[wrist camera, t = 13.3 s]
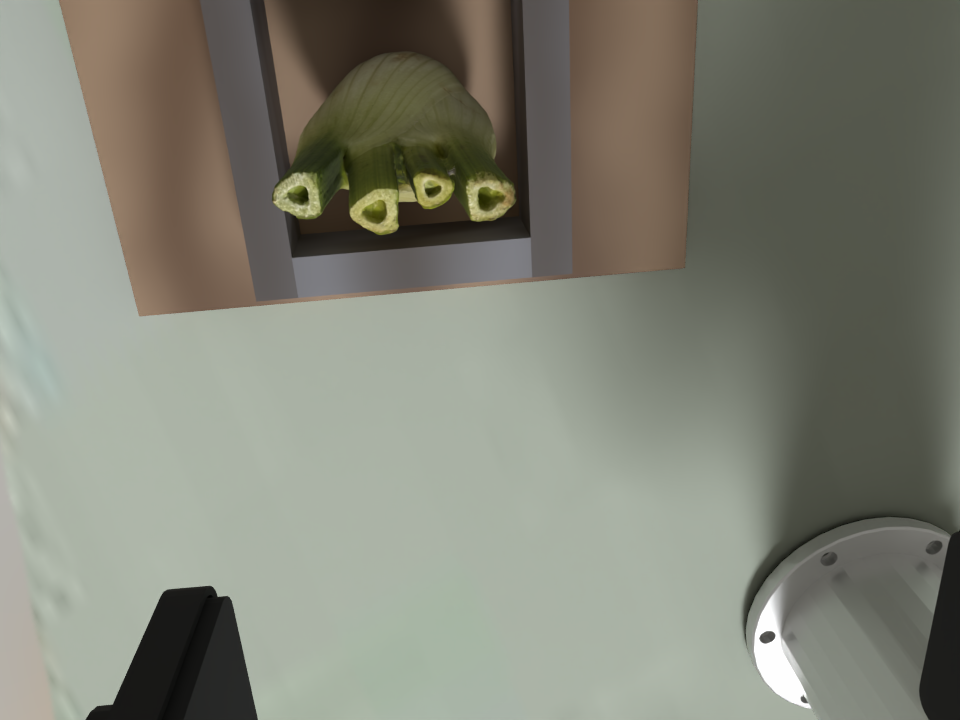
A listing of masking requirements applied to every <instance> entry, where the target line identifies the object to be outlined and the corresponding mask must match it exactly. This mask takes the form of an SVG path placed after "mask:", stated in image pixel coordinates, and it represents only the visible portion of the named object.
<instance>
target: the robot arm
mask: <svg viewBox="0 0 960 720" xmlns="http://www.w3.org/2000/svg"><path fill="white" fill-rule="evenodd" d="M746 641H747V649H748V651H749V654H750V657H751V660H752V662H753V664H754V666H755V668H756V670H757V671H758V673H759V675H760V677H761V678H762V680H763V681H764V682H765V684H766V685H767V686H768V687H769V688H770V689H771V690H772V691H773V692H774V693H776V694H777V695H779V696H780V697H782V698H783V699H785V700H786V701H788V702H791V703H793V704H796V705H798V706H801V707H805V708H810V709H812V710H813V712H814V714H815V715H816V717H817V719H818V720H960V531H959V532H956V533H954V534H953V535H952V536H951V535H949V534H948V533H947V532H946V531H944V530H942V529H940V528H938V527H936V526H934V525H932V524H930V523H927V522H923V521H919V520H915V519H911V518H898V517H883V518H874V519H865V520H861V521H857V522H853V523H850V524H846V525H842V526H840V527H837V528H835V529H833V530H830V531H828V532H826V533H823V534H821V535H819V536H817V537H816V538H814V539H812V540H811V541H809V542H807V543H806V544H804V545H802V546H801V547H799V548H798V549H797V550H795V551H794V552H793V553H792V554H791V555H789V556H788V557H787V558H786V559H785V560H783V561H782V562H781V563H780V564H779V565H778V566H777V567H776V569H775V570H774V571H773V572H772V573H771V574H770V575H769V576H768V577H767V579H766V580H765V582H764V583H763V585H762V587H761V588H760V590H759V591H758V593H757V594H756V596H755V599H754V601H753V604H752V606H751V609H750V611H749V614H748V620H747V626H746ZM86 720H258V718H257V714H256V709H255V705H254V700H253V696H252V691H251V686H250V682H249V677H248V673H247V668H246V664H245V659H244V654H243V650H242V645H241V641H240V636H239V632H238V627H237V622H236V618H235V613H234V609H233V605H232V601H231V599H230V597H228V596H223V597H217V593H216V591H215V589H214V588H213V587H212V586H203V587H191V588H180V589H169V590H166V591H164V592H163V594H162V596H161V597H160V599H159V602H158V604H157V606H156V608H155V611H154V613H153V615H152V617H151V620H150V622H149V624H148V626H147V629H146V631H145V633H144V635H143V638H142V640H141V642H140V644H139V647H138V649H137V651H136V653H135V656H134V658H133V660H132V663H131V665H130V667H129V669H128V672H127V674H126V676H125V678H124V681H123V683H122V685H121V687H120V690H119V692H118V694H117V696H116V699H115V701H114V703H113V705H104V706H97V707H96V708H95V709H94V710H92V711H91V712H90V713H89V715H88V717H87V718H86Z"/></svg>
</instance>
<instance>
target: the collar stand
mask: <svg viewBox="0 0 960 720" xmlns="http://www.w3.org/2000/svg"><path fill="white" fill-rule="evenodd" d="M59 2H60V6H61V10H62V14H63V18H64V22H65V26H66V30H67V33H68V37H69V41H70V45H71V49H72V53H73V57H74V61H75V65H76V69H77V73H78V77H79V81H80V85H81V89H82V93H83V97H84V100H85V104H86V108H87V112H88V116H89V120H90V124H91V128H92V132H93V136H94V140H95V144H96V148H97V152H98V156H99V160H100V164H101V167H102V171H103V175H104V179H105V183H106V187H107V191H108V195H109V199H110V203H111V207H112V211H113V215H114V219H115V223H116V227H117V231H118V234H119V238H120V242H121V246H122V250H123V254H124V258H125V262H126V266H127V270H128V274H129V278H130V282H131V286H132V290H133V294H134V298H135V301H136V305H137V309H138V313H139V316H148V315H160V314H171V313H182V312H194V311H205V310H216V309H228V308H239V307H250V306H262V305H273V304H284V303H295V302H307V301H318V300H329V299H341V298H352V297H363V296H375V295H386V294H397V293H409V292H420V291H431V290H443V289H454V288H465V287H476V286H488V285H499V284H510V283H522V282H533V281H544V280H556V279H567V278H578V277H590V276H601V275H612V274H624V273H635V272H646V271H658V270H669V269H680V268H685V258H686V237H687V216H688V195H689V174H690V153H691V132H692V111H693V91H694V70H695V49H696V28H697V7H698V0H59ZM402 51H411V52H416V53H419V54H422V55H425V56H428V57H431V58H432V59H434V60H437V61H439V62H441V63H442V64H443V65H445V66H446V67H447V68H449V69H450V70H451V71H452V72H453V74H454V75H455V76H456V77H457V79H458V80H459V81H460V82H461V84H462V85H463V86H464V88H465V89H466V90H467V91H468V92H469V94H471V96H473V97H474V98H475V99H476V100H477V101H478V103H479V104H480V105H481V106H482V107H483V108H484V110H485V111H486V112H487V114H488V116H489V119H490V120H491V123H492V126H493V129H494V133H495V137H496V155H495V158H494V161H495V163H496V164H497V166H498V168H500V169H501V171H503V173H504V174H505V176H506V177H507V178H508V179H509V180H510V181H512V182H513V184H514V189H515V192H516V193H515V196H516V202H515V204H514V205H513V206H512V207H510V208H509V209H508V210H507V211H506V213H505V214H504V215H502V216H501V217H499V218H496V220H493V221H489V220H486V221H481V222H476V221H472V220H471V219H470V217H469V216H468V214H467V212H466V211H465V209H464V207H463V206H462V204H461V203H460V202H459V200H458V199H457V197H456V196H455V194H454V192H453V193H452V196H451V197H450V199H449V200H448V201H446V203H444V204H443V205H441V206H438V207H436V208H433V209H424V208H423V207H422V205H421V204H419V203H418V201H415V202H398V208H399V209H398V224H399V227H398V229H397V231H395V232H393V233H389V234H385V235H378V234H375V233H374V232H372V231H370V230H367V229H366V228H364V227H362V226H361V225H359V224H358V223H356V222H355V221H354V220H352V218H351V217H350V214H349V199H348V198H349V190H347V189H339V190H338V191H337V192H336V193H335V195H334V196H333V197H332V199H331V200H330V201H329V203H328V204H327V205H326V207H325V208H324V210H323V213H322V214H321V215H320V216H318V217H317V218H315V219H298V218H296V216H295V215H292V214H291V213H289V212H287V211H282V210H280V209H279V208H278V207H277V206H275V205H274V204H273V202H272V193H273V190H274V187H275V185H276V184H277V183H278V181H279V180H280V179H281V178H282V177H283V176H284V175H285V173H286V172H287V171H288V170H289V169H290V168H291V166H292V164H293V162H294V159H295V156H296V151H297V146H298V142H299V138H300V135H301V133H302V132H303V129H304V127H306V125H307V123H308V122H309V120H310V119H311V118H312V117H313V115H314V114H315V113H316V112H317V110H318V109H319V108H320V106H321V105H322V104H323V103H324V102H325V100H326V99H327V98H328V97H329V95H330V94H331V93H332V91H333V90H334V89H335V88H336V86H337V85H338V84H339V83H340V82H341V81H342V80H343V79H344V78H345V76H346V75H347V74H348V73H349V72H350V71H351V70H353V69H354V68H355V67H356V66H357V65H359V64H361V63H363V62H365V61H367V60H369V59H371V58H373V57H375V56H378V55H380V54H384V53H391V52H402Z"/></svg>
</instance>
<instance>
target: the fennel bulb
mask: <svg viewBox="0 0 960 720" xmlns="http://www.w3.org/2000/svg"><path fill="white" fill-rule="evenodd" d="M495 155H496V137H495V133H494V129H493V126H492V123H491V120H490V119H489V116H488V114H487V112H486V111H485V110H484V108H483V107H482V106H481V105H480V104H479V103H478V101H477V100H476V99H475V98H474V97H473V96H471V94H469V92H468V91H467V90H466V89H465V88H464V86H463V85H462V84H461V82H460V81H459V80H458V79H457V77H456V76H455V75H454V74H453V72H452V71H451V70H450V69H449V68H447V67H446V66H445V65H443V64H442V63H441V62H439V61H437V60H434V59H432V58H431V57H428V56H425V55H422V54H419V53H416V52H411V51H402V52H391V53H384V54H380V55H378V56H375V57H373V58H371V59H369V60H367V61H365V62H363V63H361V64H359V65H357V66H356V67H355V68H354V69H353V70H351V71H350V72H349V73H348V74H347V75H346V76H345V78H344V79H343V80H342V81H341V82H340V83H339V84H338V85H337V86H336V88H335V89H334V90H333V91H332V93H331V94H330V95H329V97H328V98H327V99H326V100H325V102H324V103H323V104H322V105H321V106H320V108H319V109H318V110H317V112H316V113H315V114H314V115H313V117H312V118H311V119H310V120H309V122H308V123H307V125H306V127H304V129H303V132H302V133H301V135H300V138H299V142H298V146H297V151H296V156H295V159H294V162H293V164H292V166H291V168H290V169H289V170H288V171H287V172H286V173H285V175H284V176H283V177H282V178H281V179H280V180H279V181H278V183H277V184H276V185H275V187H274V190H273V193H272V202H273V204H274V205H275V206H277V207H278V208H279V209H280V210H282V211H287V212H289V213H291V214H292V215H295V216H296V218H298V219H315V218H317V217H318V216H320V215H321V214H322V213H323V210H324V208H325V207H326V205H327V204H328V203H329V201H330V200H331V199H332V197H333V196H334V195H335V193H336V192H337V191H338V190H339V189H347V190H349V198H348V199H349V214H350V217H351V218H352V220H354V221H355V222H356V223H358V224H359V225H361V226H362V227H364V228H366V229H367V230H370V231H372V232H374V233H375V234H378V235H385V234H389V233H393V232H395V231H397V229H398V227H399V224H398V209H399V208H398V202H415V201H418V203H419V204H421V205H422V207H423V208H424V209H433V208H436V207H438V206H441V205H443V204H444V203H446V201H448V200H449V199H450V197H451V196H452V193H453V192H454V194H455V196H456V197H457V199H458V200H459V202H460V203H461V204H462V206H463V207H464V209H465V211H466V212H467V214H468V216H469V217H470V219H471V220H472V221H476V222H481V221H486V220H489V221H493V220H496V218H499V217H501V216H502V215H504V214H505V213H506V211H507V210H508V209H509V208H510V207H512V206H513V205H514V204H515V202H516V196H515V193H516V192H515V189H514V184H513V182H512V181H510V180H509V179H508V178H507V177H506V176H505V174H504V173H503V171H501V169H500V168H498V166H497V164H496V163H495V161H494V158H495Z"/></svg>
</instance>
